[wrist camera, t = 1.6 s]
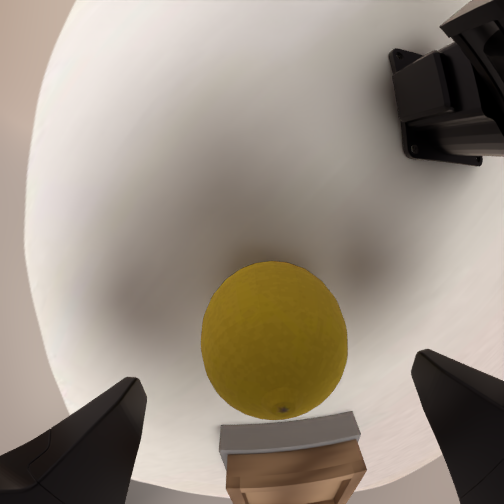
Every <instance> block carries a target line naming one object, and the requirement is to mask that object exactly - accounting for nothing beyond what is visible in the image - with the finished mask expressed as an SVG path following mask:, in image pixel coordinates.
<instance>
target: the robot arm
mask: <svg viewBox="0 0 504 504" xmlns="http://www.w3.org/2000/svg"><path fill="white" fill-rule="evenodd" d="M440 28H441V29H442V30H443V31H444V33H445V34H446V35H447V36H448V37H449V38H450V37H451V38H452V39H453V40H454V43H452V44H450V45H448V46H446V47H444V48H442V49H440V50H439V51H436V50H434V51H432V52H430V53H428V54H427V55H425V56H423V55H420V54H416V53H413V52H409V51H406V50H402V49H396V48H395V49H393V50H392V51H391V52H390V53H389V57H390V61H391V66H392V71H393V82H394V88H395V93H396V99H397V106H398V113H399V118H400V119H401V126H402V135H403V146H404V152H405V154H406V156H407V157H408V158H411V159H420V160H431V161H440V162H449V163H457V164H464V165H471V166H481V165H482V160H483V158H482V156H502V157H504V0H472V1H470V2H469V3H468V4H466V5H465V6H464V7H463V8H461V9H460V10H459V11H458V12H456V13H455V14H454V15H453V16H452V17H450V18H449V19H448V20H447V21H446V22H444V23H443V24H442V25H441V26H440ZM396 55H398V56H399V57H400V59H399V58H398V57H397V56H396ZM412 146H413V147H414V149H415V152H414V153H413V152H412V150H411V147H412ZM411 375H412V379H413V381H414V384H415V387H416V390H417V392H418V395H419V398H420V401H421V404H422V407H423V410H424V412H425V414H426V417H427V419H428V421H429V423H430V426H431V428H432V430H433V432H434V435H435V437H436V439H437V442H438V444H439V446H440V449H441V451H442V454H443V456H444V459H445V461H446V463H447V466H448V469H449V471H450V474H451V477H452V480H453V483H454V485H455V488H456V491H457V494H458V497H459V501H460V504H504V381H503V380H500V379H498V378H495V377H493V376H491V375H488V374H486V373H484V372H481V371H479V370H476V369H474V368H472V367H469V366H467V365H465V364H462V363H460V362H458V361H455V360H453V359H451V358H448V357H446V356H444V355H441V354H439V353H437V352H435V351H432V350H430V349H425V350H421V351H419V352H417V354H416V356H415V360H414V363H413V366H412V370H411ZM146 404H147V396H146V393H145V391H144V389H143V386H142V384H141V382H140V380H139V379H138V378H136V377H125V378H124V379H122V380H121V381H120V382H118V383H117V384H115V385H114V386H112V387H111V388H110V389H108V390H107V391H105V392H104V393H102V394H101V395H99V396H98V397H97V398H95V399H94V400H92V401H91V402H89V403H88V404H86V405H85V406H83V407H82V408H80V409H79V410H78V411H76V412H75V413H73V414H72V415H70V416H69V417H67V418H66V419H64V420H63V421H61V422H60V423H58V424H57V425H55V426H54V427H52V428H51V429H49V430H47V431H46V432H44V433H43V434H41V435H40V436H38V437H36V438H35V439H33V440H31V441H29V442H27V443H25V444H24V445H22V446H20V447H18V448H16V449H13V450H11V451H9V452H7V453H5V454H3V455H1V456H0V504H125V500H126V496H127V492H128V487H129V483H130V479H131V475H132V471H133V467H134V463H135V459H136V456H137V452H138V448H139V444H140V440H141V435H142V429H143V422H144V416H145V410H146Z"/></svg>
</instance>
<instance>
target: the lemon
mask: <svg viewBox="0 0 504 504" xmlns="http://www.w3.org/2000/svg"><path fill="white" fill-rule="evenodd" d="M201 351H202V357H203V361H204V366H205V370H206V373H207V376H208V378H209V380H210V382H211V384H212V385H213V387H214V388H215V390H216V392H217V393H218V394H219V395H220V397H221V398H223V399H224V400H225V401H226V402H227V403H228V404H229V405H230V406H232V407H233V408H235V409H237V410H239V411H240V412H242V413H244V414H246V415H250V416H253V417H256V418H260V419H267V420H283V419H289V418H293V417H297V416H299V415H302V414H304V413H307V412H308V411H310V410H312V409H313V408H315V407H317V406H318V405H320V404H321V403H322V402H323V401H324V400H325V399H326V398H327V397H328V396H329V395H330V394H331V393H332V392H333V391H334V389H335V387H336V386H337V384H338V383H339V381H340V379H341V377H342V375H343V372H344V368H345V365H346V362H347V356H348V346H347V329H346V324H345V321H344V318H343V315H342V313H341V310H340V307H339V305H338V303H337V301H336V299H335V297H334V296H333V295H332V293H331V292H330V291H329V289H328V288H327V287H326V286H325V284H324V283H323V282H322V281H321V280H320V279H318V278H317V277H316V276H314V275H313V274H311V273H310V272H309V271H307V270H306V269H304V268H301V267H298V266H296V265H293V264H290V263H287V262H277V261H267V262H260V263H254V264H252V265H249V266H247V267H244V268H242V269H240V270H239V271H237V272H236V273H234V274H233V275H232V276H230V277H229V278H227V279H226V280H225V281H224V282H223V284H222V285H221V286H220V287H219V288H218V290H217V291H216V292H215V293H214V294H213V296H212V298H211V300H210V303H209V305H208V307H207V310H206V312H205V315H204V318H203V324H202V334H201Z"/></svg>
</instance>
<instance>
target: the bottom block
mask: <svg viewBox="0 0 504 504" xmlns="http://www.w3.org/2000/svg"><path fill="white" fill-rule="evenodd" d="M360 435H361V433H360V430H359V428H358V425H357V422H356V420H355V417H354V415H353V412H352V411H350V412H345V413H341V414H335V415H330V416H324V417H318V418H311V419H304V420H297V421H288V422H278V423H266V424H248V425H221V433H220V443H219V452H220V455H221V458H222V460H223V463H224V466H225V468H226V471H227V455H236V454H261V453H274V452H284V451H293V450H301V449H308V448H314V447H320V446H326V445H331V444H336V443H341V442H345V441H350V440H354V439H356V440H357V443H358V441H359V438H360Z"/></svg>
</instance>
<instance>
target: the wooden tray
mask: <svg viewBox="0 0 504 504" xmlns="http://www.w3.org/2000/svg"><path fill="white" fill-rule="evenodd" d="M366 471H367V469H366V466H365V463H364V460H363V457H362V454H361V451H360V448H359V445H358V443H357V440H356V439H354V440H350V441H345V442H341V443H336V444H331V445H326V446H320V447H314V448H308V449H301V450H293V451H284V452H274V453H261V454H236V455H227V474H226V490H227V492H228V494H229V496H230V498H231V500H232V502H233V504H346V503H347V501H348V500H349V498H350V496H351V495H352V494H353V492H354V491H355V489H356V487H357V486H358V484H359V482H360V481H361V479H362V478H363V476H364V474H365V472H366Z"/></svg>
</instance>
